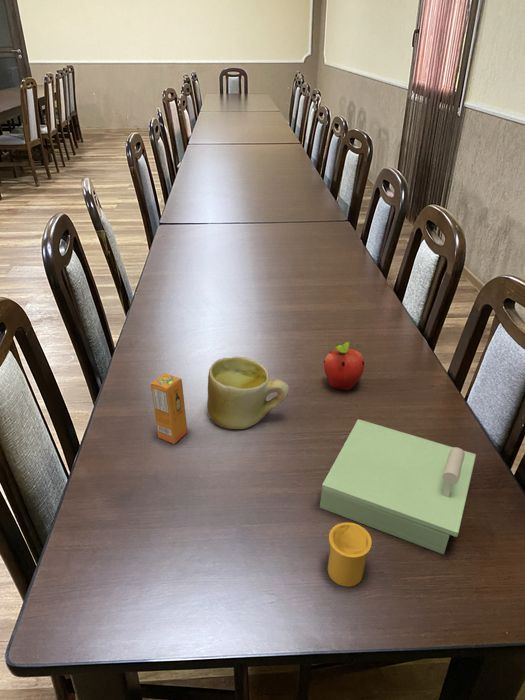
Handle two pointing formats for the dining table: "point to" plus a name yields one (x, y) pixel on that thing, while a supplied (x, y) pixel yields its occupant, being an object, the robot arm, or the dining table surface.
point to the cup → (348, 553)
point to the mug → (241, 392)
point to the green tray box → (385, 521)
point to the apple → (343, 367)
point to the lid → (403, 476)
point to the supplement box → (169, 407)
